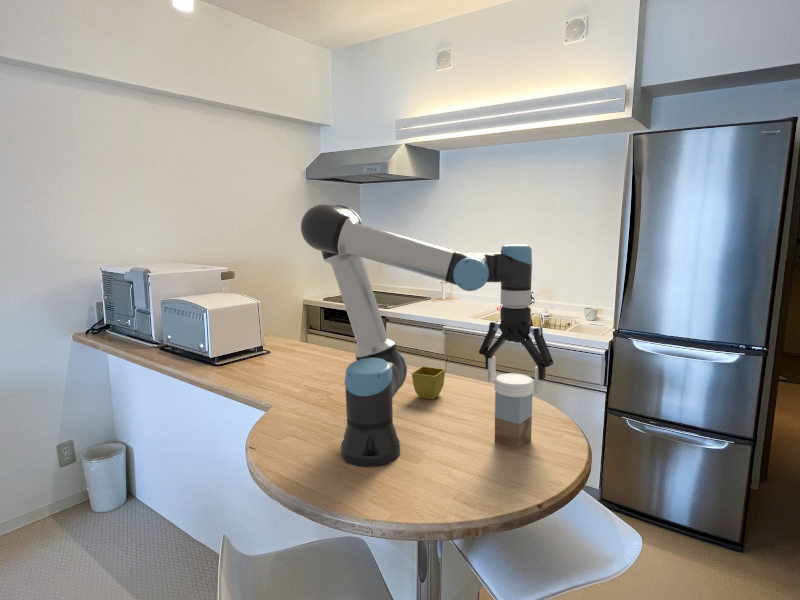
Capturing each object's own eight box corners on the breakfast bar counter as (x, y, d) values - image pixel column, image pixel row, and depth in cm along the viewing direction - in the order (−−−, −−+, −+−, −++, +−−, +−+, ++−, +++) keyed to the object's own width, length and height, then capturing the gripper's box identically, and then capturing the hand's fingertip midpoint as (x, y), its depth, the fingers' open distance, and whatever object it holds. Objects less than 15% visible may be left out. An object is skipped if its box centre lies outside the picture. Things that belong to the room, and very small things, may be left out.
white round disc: (505, 382, 134) (505, 370, 133) (539, 390, 127) (540, 377, 127) (487, 392, 126) (487, 379, 125) (522, 401, 120) (523, 387, 119)
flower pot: (411, 398, 161) (410, 372, 160) (422, 390, 169) (422, 365, 167) (435, 403, 157) (435, 376, 156) (445, 394, 165) (445, 369, 163)
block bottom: (518, 450, 124) (519, 424, 123) (494, 442, 129) (494, 417, 127) (531, 440, 129) (531, 415, 128) (507, 433, 134) (508, 409, 133)
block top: (519, 424, 123) (519, 397, 122) (495, 417, 127) (495, 391, 126) (531, 415, 128) (532, 390, 127) (508, 409, 133) (508, 384, 131)
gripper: (569, 308, 118) (565, 392, 121) (481, 299, 134) (480, 373, 137) (556, 313, 112) (553, 400, 116) (466, 303, 128) (466, 380, 132)
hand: (513, 386), depth 126 cm, fingers open, 13 cm apart
